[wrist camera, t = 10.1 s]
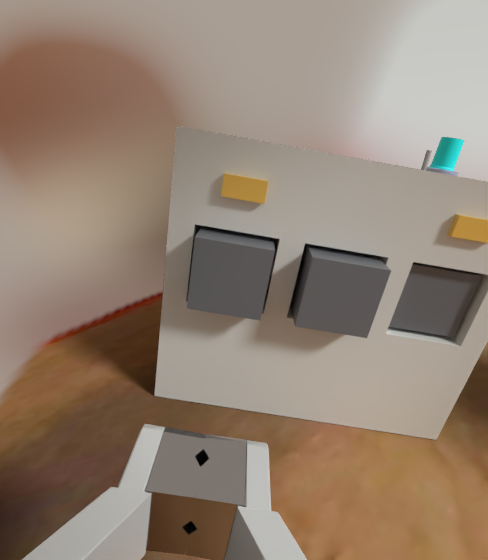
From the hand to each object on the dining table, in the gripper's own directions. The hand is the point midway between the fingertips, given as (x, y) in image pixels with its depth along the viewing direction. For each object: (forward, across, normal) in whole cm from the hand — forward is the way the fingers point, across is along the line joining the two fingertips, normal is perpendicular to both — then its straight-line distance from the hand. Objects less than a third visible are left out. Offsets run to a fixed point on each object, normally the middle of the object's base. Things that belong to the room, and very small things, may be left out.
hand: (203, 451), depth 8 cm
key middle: (+14, -6, +3) cm, 15 cm away
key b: (+16, -13, +2) cm, 20 cm away
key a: (+14, 0, +3) cm, 14 cm away
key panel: (+18, -6, +11) cm, 22 cm away
